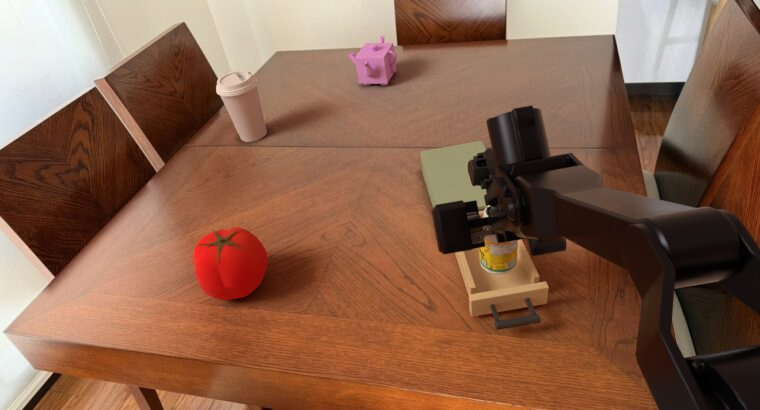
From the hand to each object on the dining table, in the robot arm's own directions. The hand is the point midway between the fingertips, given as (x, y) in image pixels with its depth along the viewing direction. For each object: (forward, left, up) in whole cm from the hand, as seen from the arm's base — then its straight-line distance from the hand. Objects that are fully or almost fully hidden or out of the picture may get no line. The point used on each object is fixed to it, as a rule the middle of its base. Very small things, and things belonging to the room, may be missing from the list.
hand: (495, 222), depth 70 cm
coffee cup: (+72, +5, -12) cm, 73 cm away
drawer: (0, 0, -11) cm, 11 cm away
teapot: (+70, -32, -12) cm, 78 cm away
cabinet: (+18, -11, -12) cm, 24 cm away
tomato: (+29, +30, -12) cm, 43 cm away
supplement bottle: (-1, +1, -7) cm, 7 cm away
